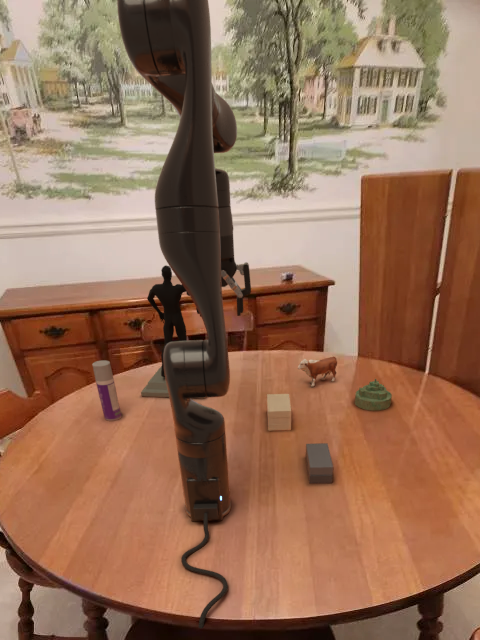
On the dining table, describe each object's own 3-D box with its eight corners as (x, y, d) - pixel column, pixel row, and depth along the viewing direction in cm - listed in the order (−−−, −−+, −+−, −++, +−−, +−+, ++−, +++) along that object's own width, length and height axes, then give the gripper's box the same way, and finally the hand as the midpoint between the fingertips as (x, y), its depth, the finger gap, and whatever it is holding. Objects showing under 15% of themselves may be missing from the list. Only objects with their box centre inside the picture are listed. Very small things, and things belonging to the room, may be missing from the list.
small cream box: (291, 430, 127) (291, 417, 125) (268, 430, 127) (267, 417, 125) (288, 412, 136) (289, 399, 134) (267, 412, 136) (267, 400, 134)
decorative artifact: (368, 413, 134) (397, 406, 137) (371, 388, 129) (401, 381, 133) (347, 400, 141) (376, 393, 144) (350, 376, 136) (379, 370, 140)
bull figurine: (295, 384, 151) (295, 358, 146) (332, 377, 155) (334, 350, 150) (302, 389, 148) (302, 362, 143) (339, 381, 152) (342, 355, 147)
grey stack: (332, 483, 107) (333, 467, 104) (309, 483, 107) (310, 467, 104) (326, 458, 115) (327, 443, 113) (305, 458, 116) (305, 443, 113)
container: (100, 419, 135) (87, 364, 126) (112, 412, 139) (100, 359, 129) (114, 422, 134) (101, 367, 124) (125, 415, 137) (114, 361, 127)
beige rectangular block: (291, 417, 125) (291, 410, 124) (267, 417, 125) (267, 411, 124) (288, 399, 133) (289, 393, 132) (266, 400, 134) (266, 394, 132)
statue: (221, 375, 159) (212, 249, 137) (207, 399, 144) (195, 263, 122) (160, 373, 162) (142, 250, 139) (141, 396, 147) (117, 263, 125)
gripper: (178, 235, 99) (187, 320, 109) (248, 233, 99) (251, 319, 109) (183, 231, 105) (191, 312, 115) (249, 229, 105) (251, 310, 115)
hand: (220, 315), depth 112 cm, fingers open, 8 cm apart
